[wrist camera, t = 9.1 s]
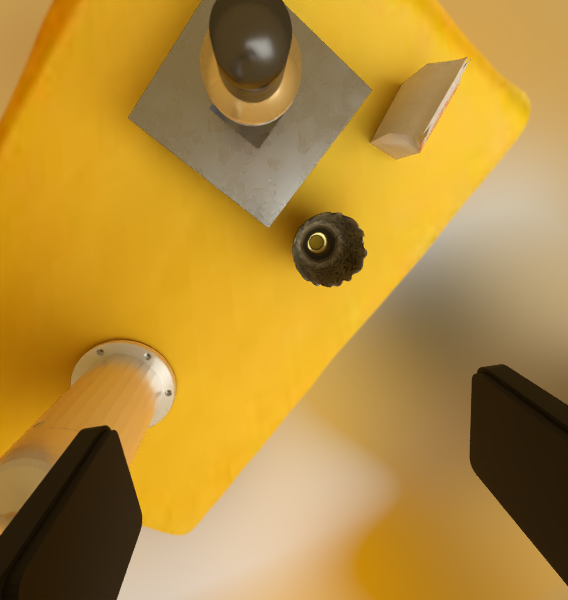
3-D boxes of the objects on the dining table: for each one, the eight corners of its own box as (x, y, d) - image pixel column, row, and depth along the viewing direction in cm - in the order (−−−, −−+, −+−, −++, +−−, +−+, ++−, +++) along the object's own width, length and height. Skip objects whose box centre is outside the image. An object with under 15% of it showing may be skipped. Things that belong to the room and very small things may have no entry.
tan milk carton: (369, 142, 40) (406, 123, 30) (401, 84, 38) (451, 44, 29) (396, 159, 40) (440, 146, 31) (428, 102, 39) (485, 69, 30)
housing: (266, 224, 41) (268, 227, 35) (147, 130, 38) (127, 117, 32) (354, 106, 39) (372, 90, 33) (235, -6, 35) (232, -48, 29)
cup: (280, 216, 41) (286, 220, 33) (341, 204, 41) (362, 205, 34) (291, 278, 43) (300, 294, 35) (350, 266, 43) (371, 279, 36)
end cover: (260, 155, 31) (263, 129, 20) (194, 100, 29) (159, 40, 18) (308, 87, 30) (340, 21, 19) (243, 26, 28) (236, -83, 17)
